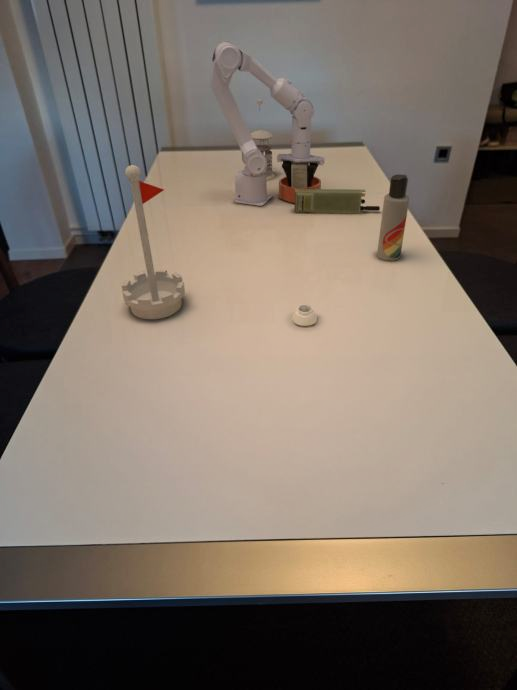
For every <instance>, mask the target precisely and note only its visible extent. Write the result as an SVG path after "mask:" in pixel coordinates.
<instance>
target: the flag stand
mask: <svg viewBox="0 0 517 690" xmlns="http://www.w3.org/2000/svg"><path fill="white" fill-rule="evenodd" d="M124 175H125V178H126V179H127V180H128V181H129V182H130V187H131V193H132V198H133V203H134V207H135V214H136V219H137V225H138V230H139V236H140V243H141V247H142V252H143V258H144V264H145V269H146V272H145V271H140V272H137V273H134V274H133V279H132V280H129V279H124V282H122V285H121V289H122V297H123V298H122V299H123V301H124V302H125V304H126V305H127V306H129V307H130V311H131V313H132V314H133V315H134V316H135V317H137V318H139V319H144V320H160V319H164V318H168V317H170V316H172V315H174V314H175V313H177V312H178V311H179V310H180V308H182V304H183V301H182V299H183V297H184V296H185V293H186V288H185V282H184V281H183V277H182V275H181V274H180V273H179V272H174V273H172V274H168V270H167V269H155V267H154V262H153V256H152V250H151V244H150V239H149V231H148V227H147V221H146V215H145V209H144V204H145V203H147V202H148V201H150V200H151V199H153V198H154V197H156V196H158V195H159V194H160V193H162V192H164V191H165V189H164V188H160V187H158V186H155V185H152V184H149V183H146V182H143V181H141V178H142V170H141V168H139V166H137V165H136V164H135V165H134V164H131V165H128V166H127V167H126V168H125V171H124Z"/></svg>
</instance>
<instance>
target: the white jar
mask: <svg viewBox="0 0 517 690" xmlns="http://www.w3.org/2000/svg"><path fill="white" fill-rule="evenodd" d="M291 319H292V322H293V323H294V324H295V325H297V326H301V327H305V326H306V327H308V326H312V325H314V324H315V323H317V321H318V315H317V314H316V311H314V309H313V306H312V305H310V304H300V305H298V306H297V308H296V309H295V311H294V313H293V315H292V316H291Z"/></svg>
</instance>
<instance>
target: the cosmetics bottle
mask: <svg viewBox="0 0 517 690" xmlns="http://www.w3.org/2000/svg"><path fill="white" fill-rule="evenodd" d="M308 165H310V164H307V163H295V162H293V163H292V165H291V187H293V188H307V183H308V170H307V167H308Z"/></svg>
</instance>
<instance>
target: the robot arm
mask: <svg viewBox="0 0 517 690" xmlns="http://www.w3.org/2000/svg"><path fill="white" fill-rule="evenodd" d="M210 61H211V62H210V63H211V64H210V79H209V85H210V88H211V92H212V93H213V95H214V98H215V99H216V101H217V103H218V105H219V107H220V109H221V111H222V113H223V115H224V118H225V120H226V122H227V124H228V126H229V128H230V130H231V132H232V135H233V137H234V138H235V140H236V142H237V144H238V147H239V149H240V152H241V160H242V162H243V164H244V165H245V166H244V168H243V169H242V170H238V171H237V173H236V174H235V178H234V190H235V191H234V192H235V200H234V203H235V204H243V205H250V206H257V207H263V206H264V205H265V204H267V202H269V201H270V200H271V199H272V196H271V195H268V189H267V187H268V186H267V181H268V180H266V168H267V160H266V158H265V157H264V156H263V155H262V153H261V151H260V149H259V148H257V146H256V145H257V144H256V142H255V141H254V140H253V139H252V136H251V132H250V129H249V128H248V125H247V124H246V122H245V119H244V117H243V115H242V113H241V111H240V107H238V104H237V102H236V99H235V97H234V95H233V93H232V90H231V88H230V84H231V81H232V78H233V75H234V74H235V73H236V71H237V70H238V71H239V72H247V73H249V74H251V75H253V77H254V78H256V79H257V80H258V81H259V82H261V83H262V84H263V85H265V86H266V87H267V88H268V89H269V92H270V97H271V98H272V99H273V100H275V101H276V102H277V103H278V104H279V105H280V106H281V107H283V108H284V109H285V110H287V111H289V112H290V115H292V116H291V142H290V143H291V144H290V145H291V147H290V148H291V149H290V150H291V151H290V153H278V154H277V156H276V162H277V163H281V162H282V163H281V168H282V170H283V172H284V174H285V177H287V180H288V185H289V186H291V165H292V163H293V162H295V163H307V164H309V165H308V167H307V170H308V183H307V187H311V184H312V180H313V177H314V176H315V174H316V171H317V169H318V167H319V166H324V165H325V156H318V155H313V154H311V138H312V137H311V136H312V118H313V116H314V114H315V109H314V105H313V102H312V101H311V100H310V99H308V98H307V97H305V95H304V92H303V91H301V90H300V91H299V90H298V89H296V87H294V86H293V85H292V83H293V82H292V81H291V80H290V79H289V78H286V79H285V78H284V77H281V78H276V77H275V76H274V75H273V74H272V73H271V72H269V70H268V69H266V68H265V67H264V66H263V65H262V64H261V62H259V61H258V60H257V59H256V58H255V57H254V56H252V55H251V54H249V53H248V52H247V51H244V50H243V49H241V48H239V47H237V46H236V45H235V44H233V43H232V42H231V41H228V40H222V41H220V42H219V43H217V44H216V46H215V47H214V50H213V52H212V55H211V58H210Z"/></svg>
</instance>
